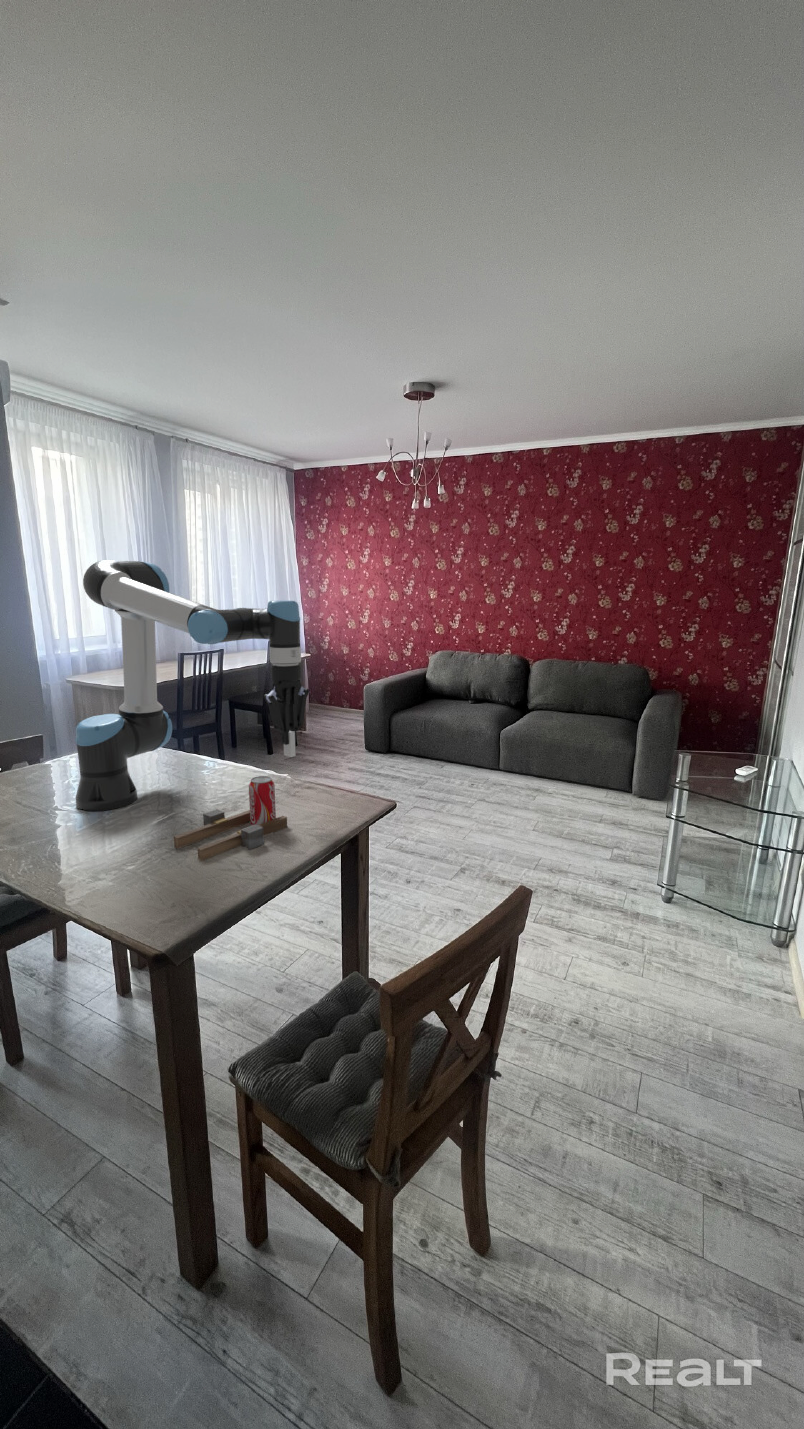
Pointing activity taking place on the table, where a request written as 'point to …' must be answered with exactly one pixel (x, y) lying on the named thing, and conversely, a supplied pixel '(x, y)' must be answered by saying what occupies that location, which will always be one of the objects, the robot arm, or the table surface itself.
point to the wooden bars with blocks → (219, 823)
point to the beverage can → (262, 800)
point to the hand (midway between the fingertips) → (289, 755)
